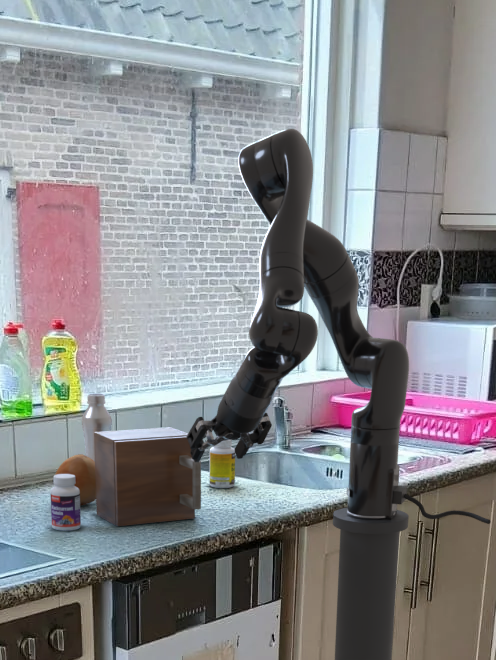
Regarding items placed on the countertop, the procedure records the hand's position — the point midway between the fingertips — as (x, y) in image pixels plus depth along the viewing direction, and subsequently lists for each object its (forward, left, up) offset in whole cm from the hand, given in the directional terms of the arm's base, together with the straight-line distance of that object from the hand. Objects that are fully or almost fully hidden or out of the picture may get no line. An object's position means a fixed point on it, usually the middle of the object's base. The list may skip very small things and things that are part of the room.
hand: (216, 456), depth 214 cm
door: (+12, -4, -14) cm, 19 cm away
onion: (+34, -16, -15) cm, 40 cm away
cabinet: (+18, -11, -15) cm, 26 cm away
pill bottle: (+28, +3, -15) cm, 32 cm away
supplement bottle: (+13, -44, -15) cm, 48 cm away
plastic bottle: (+36, -30, -15) cm, 49 cm away
